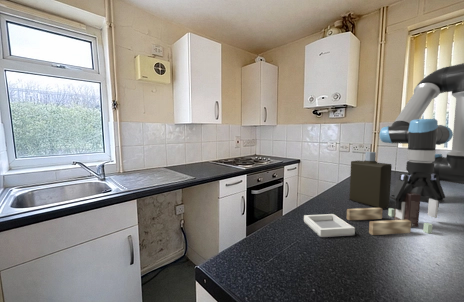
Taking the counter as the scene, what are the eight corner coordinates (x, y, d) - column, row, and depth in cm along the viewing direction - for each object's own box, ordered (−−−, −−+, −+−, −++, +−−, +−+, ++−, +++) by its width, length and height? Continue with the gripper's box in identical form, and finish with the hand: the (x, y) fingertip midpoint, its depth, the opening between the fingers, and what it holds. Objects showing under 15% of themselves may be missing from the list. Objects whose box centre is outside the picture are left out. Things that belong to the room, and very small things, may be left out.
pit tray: (333, 220, 80) (333, 213, 80) (354, 235, 68) (354, 227, 68) (303, 221, 79) (304, 215, 78) (320, 237, 67) (320, 229, 67)
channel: (378, 217, 83) (379, 207, 82) (410, 232, 69) (411, 221, 69) (346, 218, 81) (346, 209, 81) (372, 235, 68) (373, 223, 68)
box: (419, 226, 74) (421, 194, 73) (407, 227, 73) (409, 194, 72) (403, 219, 80) (405, 189, 79) (393, 220, 79) (394, 190, 78)
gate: (391, 215, 84) (391, 208, 84) (431, 233, 69) (432, 224, 69) (388, 215, 84) (388, 208, 84) (427, 233, 69) (428, 224, 69)
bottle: (381, 210, 90) (385, 154, 88) (346, 200, 104) (349, 151, 102) (391, 207, 93) (394, 153, 91) (356, 197, 108) (358, 150, 105)
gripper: (439, 159, 80) (434, 212, 82) (380, 160, 77) (377, 214, 79) (462, 162, 73) (457, 219, 74) (398, 163, 70) (394, 223, 72)
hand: (416, 217), depth 77 cm, fingers open, 13 cm apart
